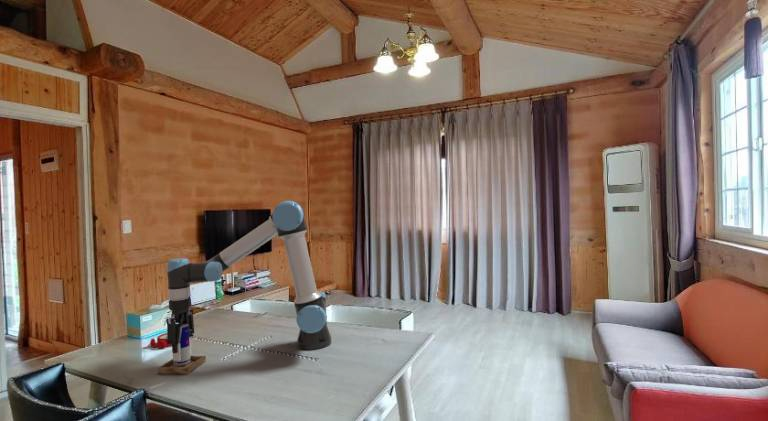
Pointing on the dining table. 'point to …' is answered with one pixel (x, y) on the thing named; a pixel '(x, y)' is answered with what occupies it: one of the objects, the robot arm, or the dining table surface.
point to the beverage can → (184, 345)
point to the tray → (181, 366)
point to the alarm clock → (160, 342)
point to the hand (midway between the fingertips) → (182, 356)
